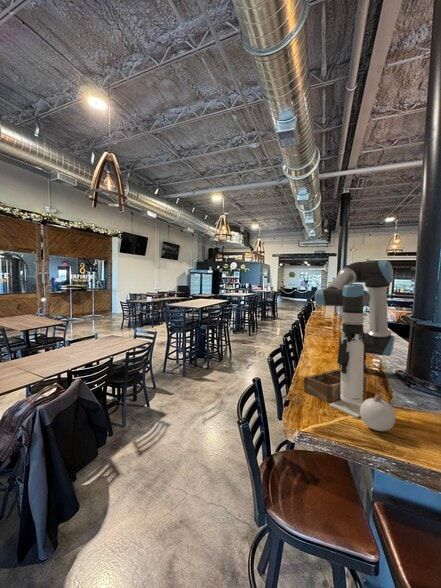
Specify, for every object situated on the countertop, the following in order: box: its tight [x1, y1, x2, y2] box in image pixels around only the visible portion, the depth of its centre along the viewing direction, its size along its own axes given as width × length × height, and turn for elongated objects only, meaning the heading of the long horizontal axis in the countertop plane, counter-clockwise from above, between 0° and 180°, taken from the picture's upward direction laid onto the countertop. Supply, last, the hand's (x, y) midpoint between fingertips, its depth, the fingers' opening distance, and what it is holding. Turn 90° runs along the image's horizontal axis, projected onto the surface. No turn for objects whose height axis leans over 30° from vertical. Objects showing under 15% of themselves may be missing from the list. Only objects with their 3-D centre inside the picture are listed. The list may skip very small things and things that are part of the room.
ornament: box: [360, 394, 397, 432], centre depth 90 cm, size 10×10×12 cm
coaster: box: [328, 400, 362, 419], centre depth 106 cm, size 12×12×1 cm
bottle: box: [340, 334, 364, 404], centre depth 105 cm, size 8×8×28 cm
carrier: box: [303, 368, 367, 404], centre depth 122 cm, size 26×14×7 cm, turn 120°
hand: (351, 379), depth 105 cm, fingers closed on bottle, 8 cm apart
